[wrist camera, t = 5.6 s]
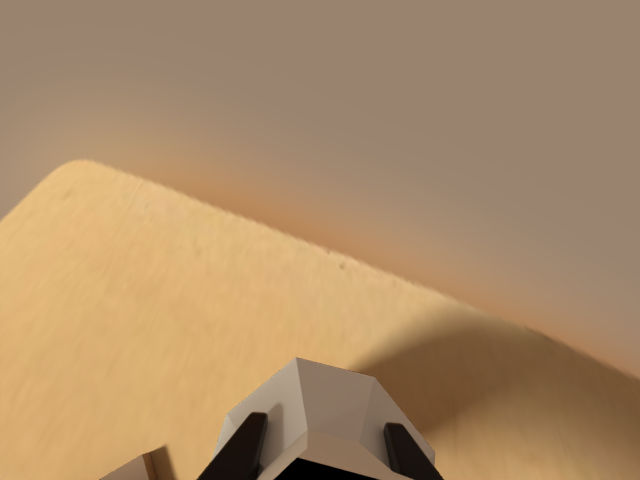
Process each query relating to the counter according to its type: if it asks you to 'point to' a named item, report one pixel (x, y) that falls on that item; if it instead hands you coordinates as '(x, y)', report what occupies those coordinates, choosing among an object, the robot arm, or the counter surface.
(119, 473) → the brown wooden tray
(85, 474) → the counter surface
